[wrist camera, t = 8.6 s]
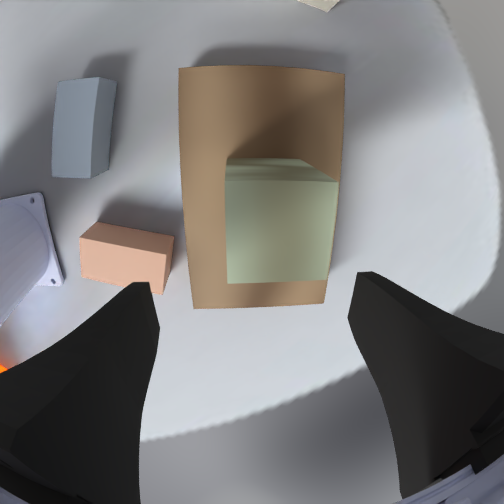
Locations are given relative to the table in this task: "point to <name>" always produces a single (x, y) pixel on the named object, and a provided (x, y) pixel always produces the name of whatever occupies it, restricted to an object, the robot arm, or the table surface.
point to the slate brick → (82, 127)
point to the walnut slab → (249, 146)
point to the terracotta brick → (126, 256)
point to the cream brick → (320, 4)
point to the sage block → (278, 220)
